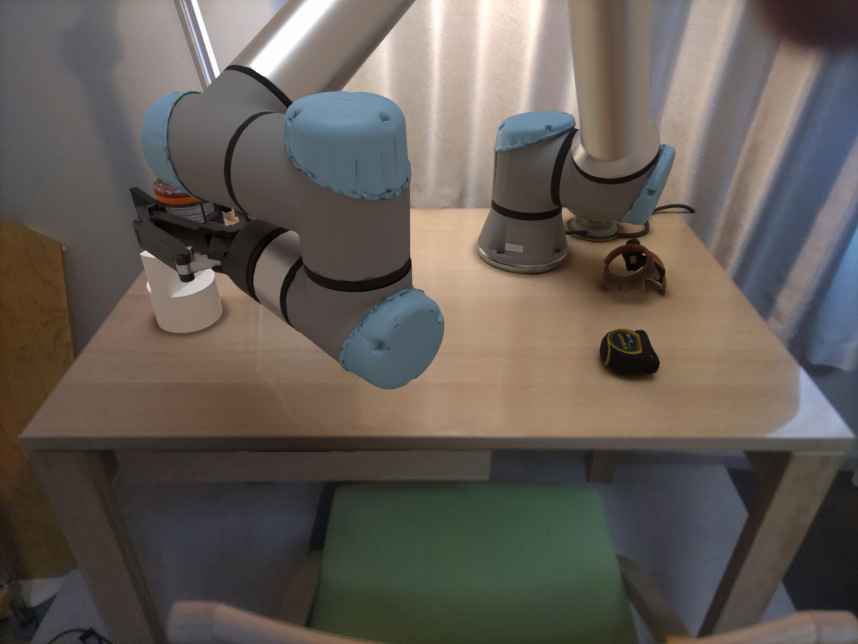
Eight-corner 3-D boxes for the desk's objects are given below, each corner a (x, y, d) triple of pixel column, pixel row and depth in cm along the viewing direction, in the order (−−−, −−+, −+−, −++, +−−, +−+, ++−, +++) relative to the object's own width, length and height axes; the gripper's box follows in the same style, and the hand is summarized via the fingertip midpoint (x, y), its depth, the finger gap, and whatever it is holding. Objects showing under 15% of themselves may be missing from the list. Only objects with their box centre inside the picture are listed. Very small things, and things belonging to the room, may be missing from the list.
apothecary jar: (580, 209, 118) (595, 117, 108) (637, 227, 112) (659, 131, 102) (547, 230, 111) (560, 132, 101) (606, 251, 105) (627, 149, 94)
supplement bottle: (185, 243, 67) (159, 143, 61) (238, 244, 67) (218, 144, 61) (164, 270, 62) (134, 165, 56) (221, 271, 62) (197, 166, 56)
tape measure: (657, 382, 76) (664, 359, 74) (602, 380, 76) (607, 357, 74) (643, 349, 82) (649, 326, 80) (593, 347, 82) (597, 325, 80)
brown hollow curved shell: (676, 308, 91) (664, 272, 85) (613, 323, 95) (598, 290, 89) (661, 253, 99) (650, 217, 93) (604, 269, 102) (590, 236, 97)
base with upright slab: (197, 338, 83) (177, 262, 76) (143, 326, 85) (119, 251, 78) (234, 305, 90) (219, 232, 83) (184, 294, 92) (165, 222, 85)
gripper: (194, 353, 48) (86, 251, 61) (377, 268, 58) (251, 198, 72) (170, 271, 43) (60, 181, 57) (373, 196, 54) (240, 135, 67)
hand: (167, 190), depth 64 cm, fingers closed on supplement bottle, 6 cm apart
